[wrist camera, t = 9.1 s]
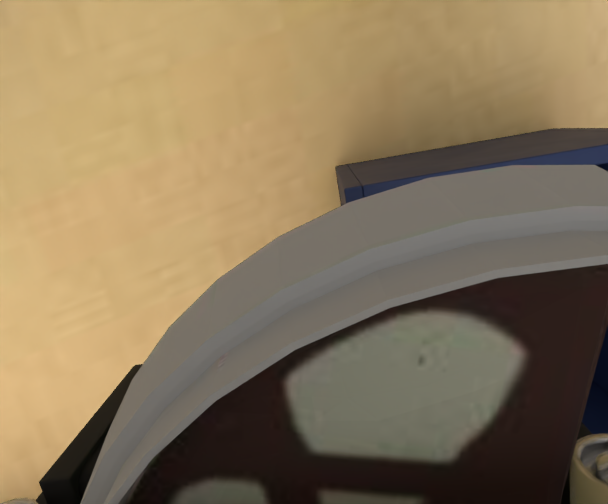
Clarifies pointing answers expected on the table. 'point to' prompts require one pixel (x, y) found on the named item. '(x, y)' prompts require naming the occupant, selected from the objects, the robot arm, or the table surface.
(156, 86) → the table surface
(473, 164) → the case
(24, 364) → the table surface
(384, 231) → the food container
